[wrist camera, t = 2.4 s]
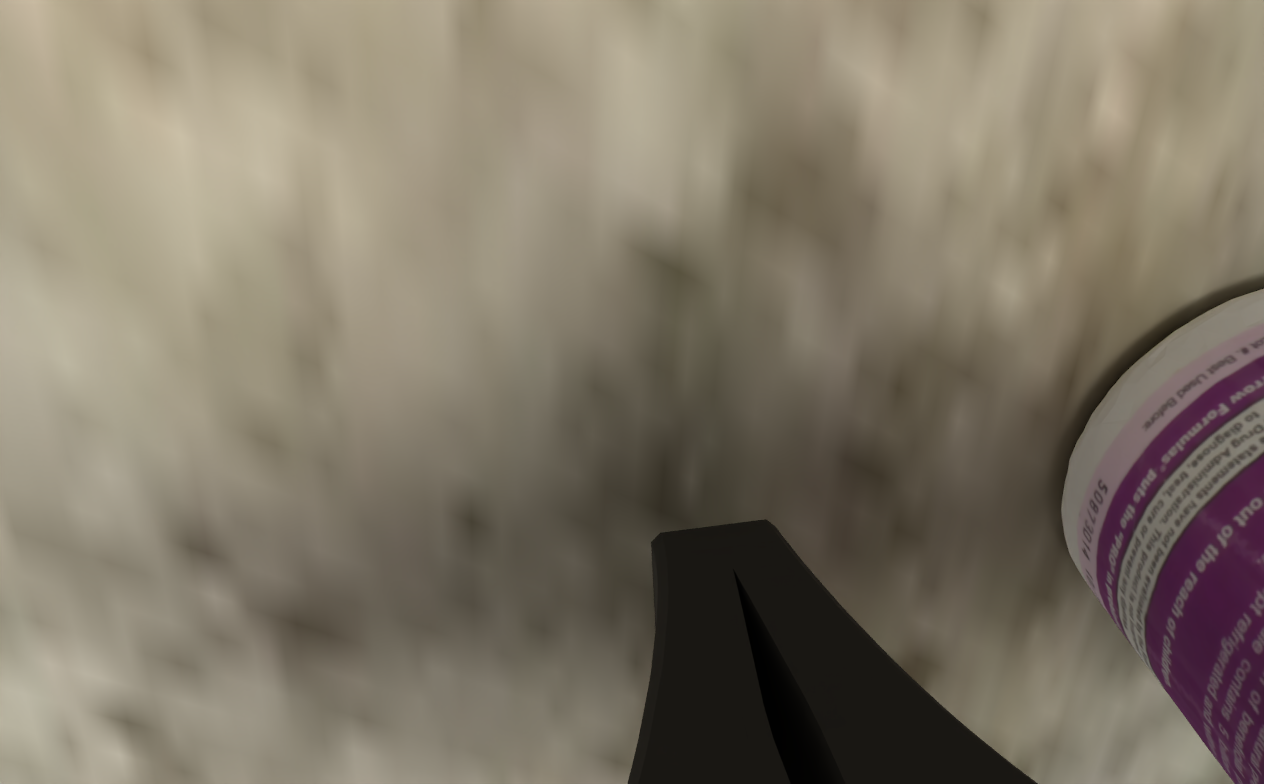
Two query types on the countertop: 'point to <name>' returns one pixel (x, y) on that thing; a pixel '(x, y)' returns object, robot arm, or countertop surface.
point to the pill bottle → (1185, 522)
